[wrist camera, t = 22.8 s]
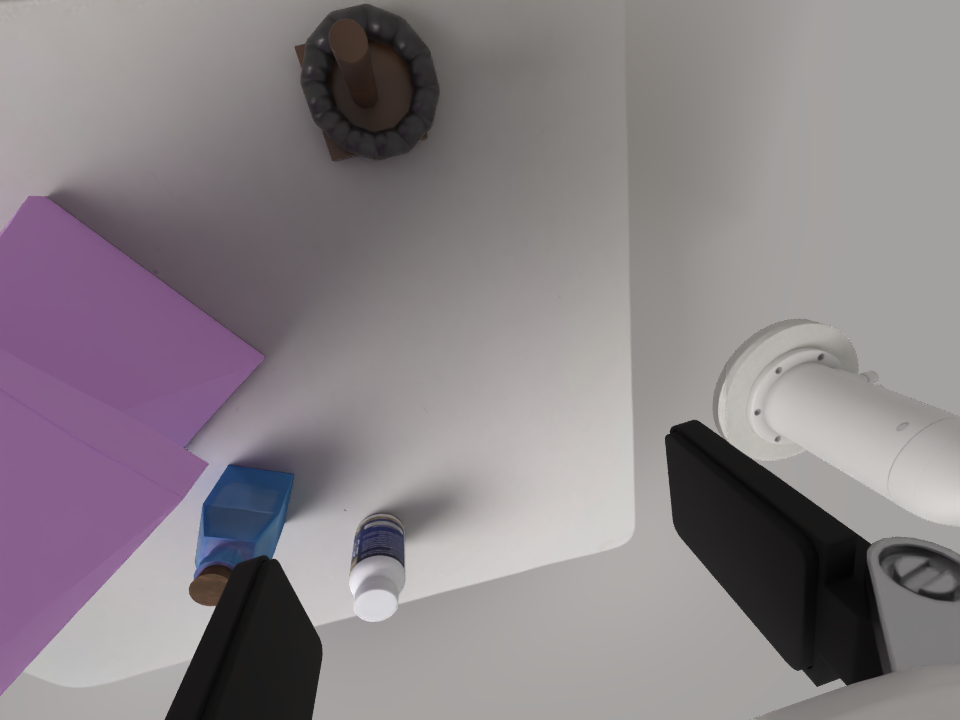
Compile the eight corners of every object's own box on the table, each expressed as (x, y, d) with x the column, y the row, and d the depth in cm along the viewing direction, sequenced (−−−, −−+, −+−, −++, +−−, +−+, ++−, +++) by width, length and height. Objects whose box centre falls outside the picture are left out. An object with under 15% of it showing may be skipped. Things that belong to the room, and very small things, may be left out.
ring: (415, -2, 33) (416, -14, 31) (450, 142, 37) (453, 139, 35) (283, 29, 32) (276, 18, 30) (333, 173, 36) (329, 171, 34)
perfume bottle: (294, 474, 45) (260, 562, 34) (284, 523, 47) (248, 623, 36) (228, 464, 44) (170, 554, 32) (220, 516, 45) (162, 618, 34)
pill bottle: (351, 516, 48) (340, 589, 39) (401, 508, 49) (401, 577, 40) (359, 555, 50) (350, 633, 41) (407, 546, 51) (409, 621, 42)
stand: (398, 27, 34) (399, -70, 22) (427, 138, 37) (441, 106, 25) (297, 50, 34) (240, -37, 22) (333, 161, 37) (302, 140, 24)
